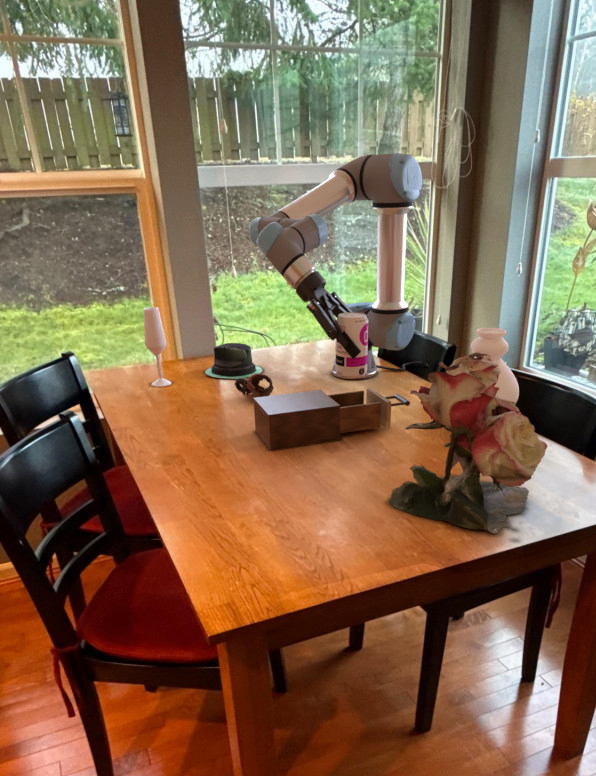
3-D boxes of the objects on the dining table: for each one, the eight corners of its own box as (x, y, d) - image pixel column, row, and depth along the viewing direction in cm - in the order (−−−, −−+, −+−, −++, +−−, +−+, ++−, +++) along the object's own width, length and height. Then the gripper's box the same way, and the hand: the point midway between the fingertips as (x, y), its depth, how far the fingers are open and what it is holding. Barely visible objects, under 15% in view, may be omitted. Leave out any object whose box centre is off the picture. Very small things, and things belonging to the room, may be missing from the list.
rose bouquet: (519, 544, 116) (546, 384, 101) (378, 507, 130) (384, 361, 115) (555, 491, 135) (582, 350, 120) (428, 464, 148) (439, 334, 133)
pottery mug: (272, 393, 200) (276, 374, 193) (268, 414, 195) (272, 395, 188) (234, 384, 198) (238, 365, 191) (230, 405, 193) (233, 386, 186)
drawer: (392, 410, 180) (393, 384, 176) (414, 425, 169) (416, 398, 165) (311, 421, 173) (310, 394, 169) (328, 437, 162) (328, 409, 158)
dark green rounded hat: (270, 362, 228) (258, 379, 211) (228, 385, 235) (214, 403, 218) (247, 324, 222) (234, 339, 205) (205, 349, 229) (189, 365, 212)
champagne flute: (176, 382, 210) (166, 307, 198) (161, 387, 205) (150, 311, 194) (161, 379, 214) (151, 305, 202) (146, 384, 209) (135, 309, 197)
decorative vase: (439, 430, 168) (447, 334, 155) (456, 410, 181) (465, 321, 169) (506, 440, 161) (521, 341, 148) (519, 419, 175) (533, 326, 162)
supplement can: (371, 372, 165) (373, 313, 158) (359, 380, 159) (361, 319, 151) (343, 369, 168) (343, 310, 161) (330, 377, 162) (330, 316, 154)
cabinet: (321, 422, 175) (320, 389, 170) (340, 440, 163) (340, 405, 158) (255, 431, 169) (253, 397, 164) (270, 450, 157) (268, 414, 153)
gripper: (314, 285, 168) (368, 351, 170) (276, 297, 151) (337, 371, 153) (332, 264, 163) (388, 333, 165) (295, 275, 146) (358, 351, 148)
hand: (363, 351), depth 159 cm, fingers closed on supplement can, 8 cm apart
